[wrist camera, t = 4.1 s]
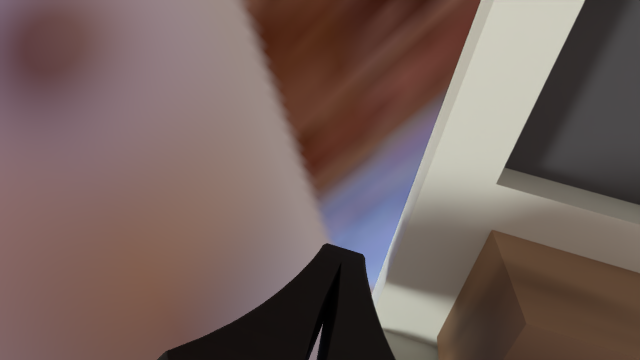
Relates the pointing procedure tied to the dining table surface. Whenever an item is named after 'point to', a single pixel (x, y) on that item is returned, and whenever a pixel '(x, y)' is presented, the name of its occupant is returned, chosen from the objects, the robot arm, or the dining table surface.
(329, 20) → the dining table surface
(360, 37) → the dining table surface
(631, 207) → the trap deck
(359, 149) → the dining table surface
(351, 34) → the dining table surface
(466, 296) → the walnut block
